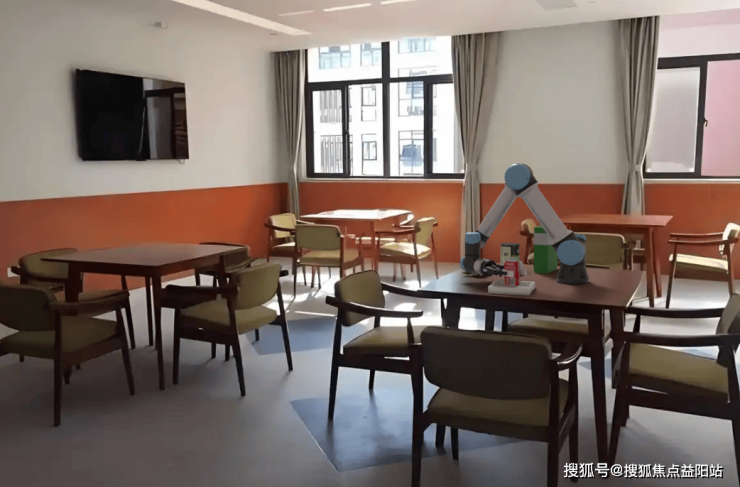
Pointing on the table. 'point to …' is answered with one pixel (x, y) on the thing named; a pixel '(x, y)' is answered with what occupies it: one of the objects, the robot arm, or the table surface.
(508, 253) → the coffee can
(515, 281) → the soda can
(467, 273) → the ceramic sculpture
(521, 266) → the elephant figurine
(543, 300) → the table surface
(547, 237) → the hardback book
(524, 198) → the robot arm
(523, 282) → the tray
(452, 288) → the table surface
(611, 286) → the table surface
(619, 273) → the table surface
